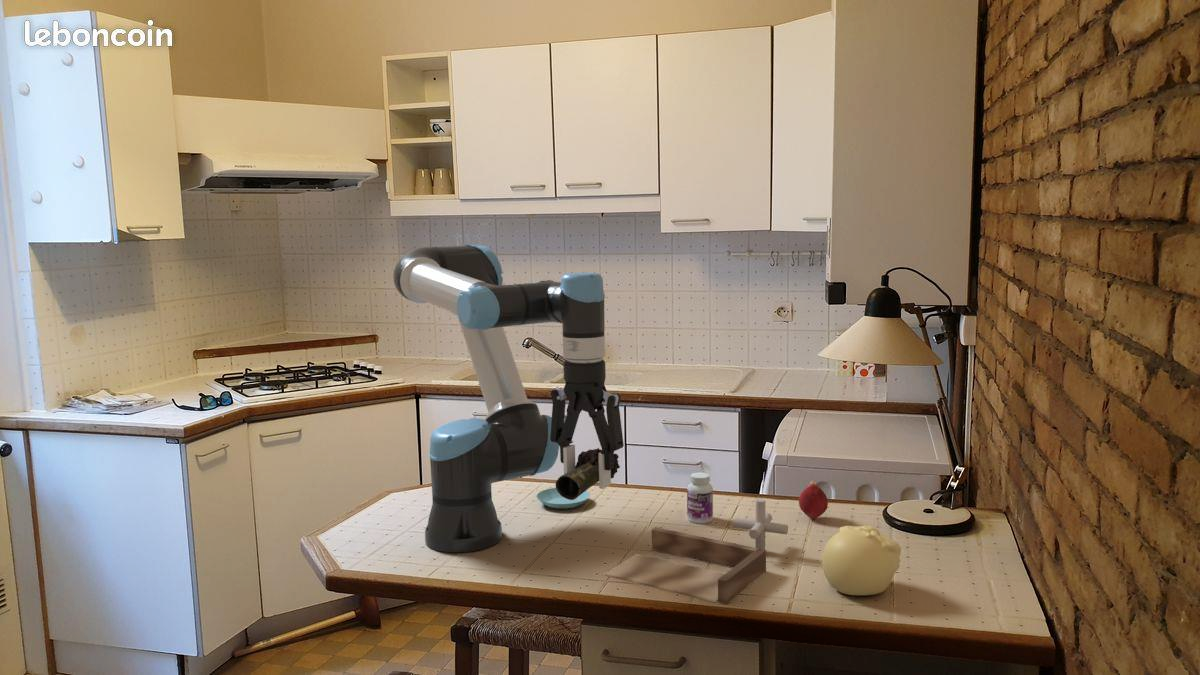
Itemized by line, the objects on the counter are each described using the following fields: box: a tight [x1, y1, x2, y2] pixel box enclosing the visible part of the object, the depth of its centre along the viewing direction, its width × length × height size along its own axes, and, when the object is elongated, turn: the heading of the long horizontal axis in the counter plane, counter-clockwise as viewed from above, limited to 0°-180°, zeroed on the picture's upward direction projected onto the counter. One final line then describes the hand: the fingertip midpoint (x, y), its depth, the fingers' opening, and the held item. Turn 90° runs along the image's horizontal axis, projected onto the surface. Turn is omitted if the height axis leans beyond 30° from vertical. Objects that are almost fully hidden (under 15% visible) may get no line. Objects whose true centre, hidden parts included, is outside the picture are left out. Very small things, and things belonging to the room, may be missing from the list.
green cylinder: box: [555, 447, 621, 500], centre depth 163 cm, size 18×7×6 cm, turn 153°
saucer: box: [536, 487, 591, 510], centre depth 199 cm, size 12×12×2 cm
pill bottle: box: [686, 472, 714, 524], centre depth 187 cm, size 5×5×10 cm
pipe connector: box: [732, 498, 789, 550], centre depth 168 cm, size 10×10×10 cm
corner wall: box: [650, 527, 767, 605], centre depth 159 cm, size 23×16×4 cm
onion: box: [798, 481, 829, 520], centre depth 185 cm, size 6×6×8 cm
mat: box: [603, 553, 726, 604], centre depth 158 cm, size 22×11×1 cm, turn 56°
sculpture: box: [821, 525, 902, 596], centre depth 151 cm, size 11×12×11 cm
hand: (587, 483), depth 164 cm, fingers closed on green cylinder, 7 cm apart
